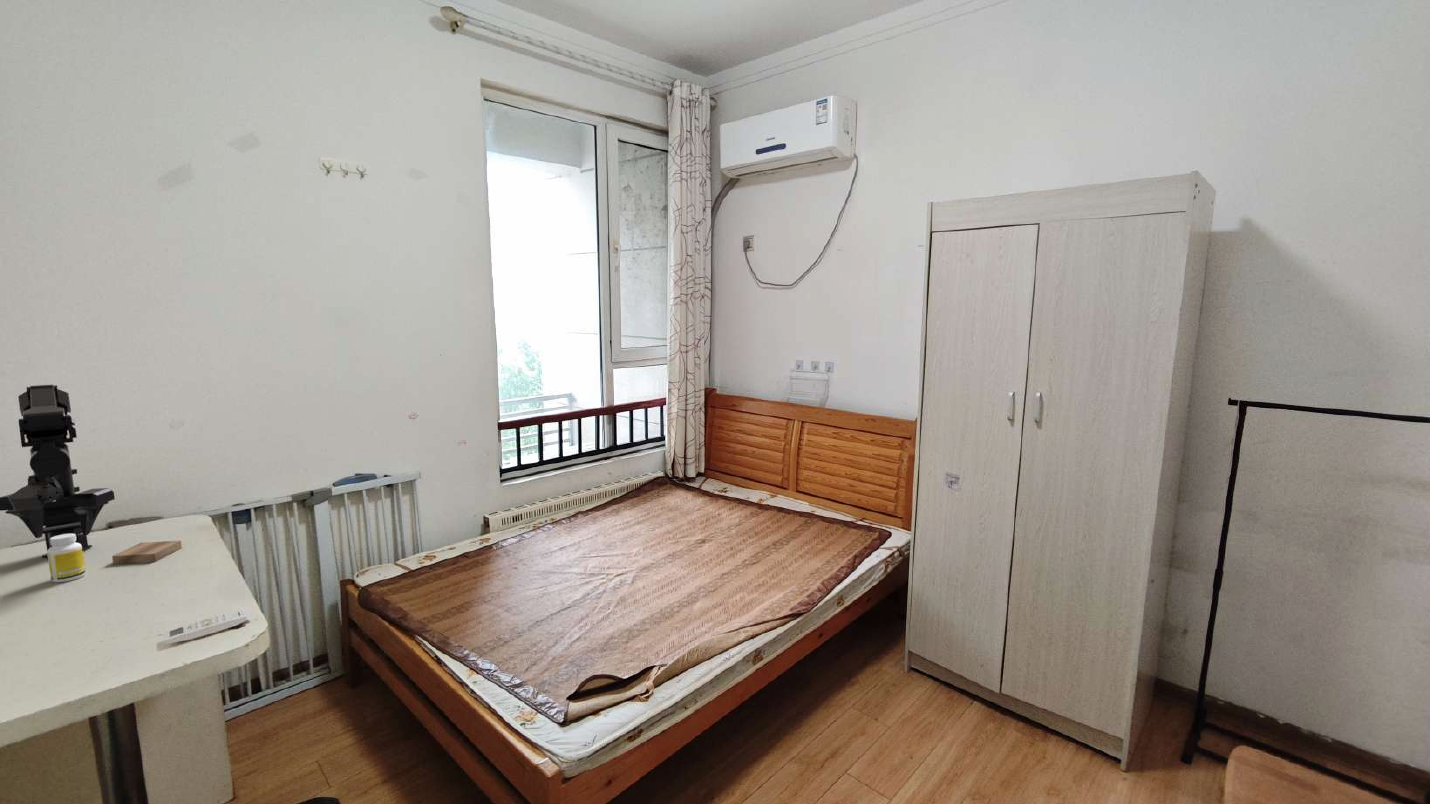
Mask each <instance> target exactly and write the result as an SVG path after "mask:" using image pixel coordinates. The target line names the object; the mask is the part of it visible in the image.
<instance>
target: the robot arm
mask: <svg viewBox="0 0 1430 804" xmlns="http://www.w3.org/2000/svg"><path fill="white" fill-rule="evenodd" d="M17 399H18V405H19V411H20V414H21V417H22V418H18V426H19V427H18V428H19V434H20V444H21V445H20V446H21V448H30V447H31V448H30V449H29V453H30V459H29V466H30V469H31V470H32V472H33V474H31V475H29V476H27V477H28V478H27V485H25V486H23V487H21V488H20V489H18V490H16V491H15V492H14V493H10V494H7V495H3V496H0V511H1V512H2V511H4V513H5V514H7V515H12V516H15V517H17V518H19V519H20V520H21V521H22V522H23V523H24V524H25V526H26V527H27V528H28V530H29V531H30V532H31V534H32V535H33V536H34V538H35V539H40V538H42V537H43V535H44V539H45V546H46V552H47V551H48V549H49V548H51V547H52V545H51V543H50V538H52V537H54V536H58V535H63V534H76V541H75V543H80V544H81V546H82V551H83V550H84V551H85V549H86V550H88V549H91V548H93V545H92V544H89V543H88V536H89V535H90V533H91V531H92V529H93V526H94V524H95V522H96V520H97V518H98V516H99V514H100V512H101V511H102V510H103V507H104V506H105V505H107V504H109V502H111V501H114V500H116V498H115V492H114V490H113V489H111V488H110V487H104V488H103V487H102V488H101V487H99V488H91V489H87V490H85V491H81V490H80V486H75V484H74V477H73V475H76V474H78V469H76V468H72V464H71V458H70V451H69V445H67V443H74V439H75V438H76V439H77V438H78V437H77V430H76V423H75V419H73V418H72V415H70V414H71V413H72V411H71V403H70V402H71V401H70V396H69V392H67V391H63V390H62V389H59V388H58V385H54V384H41V385H39V384H37V385H30V386H26V391H25V392H23V393H21V394H19V395H18V396H17ZM68 413H70V414H68ZM67 436H69V437H67ZM26 439H27V440H26ZM80 491H81V492H80ZM90 547H91V548H90ZM87 548H88V549H87ZM41 558H48V555H47V553H44V554H42V555H41Z"/></svg>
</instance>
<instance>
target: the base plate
mask: <svg viewBox="0 0 1430 804" xmlns="http://www.w3.org/2000/svg"><path fill="white" fill-rule="evenodd" d="M180 549H182V540H170V541H169V540H167V541H149V542H140V543H138V544H135V545H133V546H132V547H131V546H130V547H128V548H126V549H125V550H122V551H120V552H118V553H116V554H114V555H112V564H113V565H120V564H121V565H123V564H135V563H137V564H140V563H153V562H154V563H155V562H157V561H160V560H162V559H164V558H166V557H167V556H169V555H172V554H173V553H175V552H177V551H178V550H180ZM159 559H160V560H159Z"/></svg>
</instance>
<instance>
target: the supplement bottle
mask: <svg viewBox="0 0 1430 804" xmlns="http://www.w3.org/2000/svg"><path fill="white" fill-rule="evenodd" d="M75 541H76V534H63V535H58V536H54V537H52V538H50V543H51V545H52V547H51V548H49V549H48V551H47V550H46V552H47V553H46V554H47V555H48V557H47V560H48V567H49V574H50V580H51V582H52V583H65V582H66V583H67V582H71V581H74V580H77V579H80V578H82V577H84V576H85V575H86V566H85V560H84V552H83V551H82V546H81V544H80V543H75Z"/></svg>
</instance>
